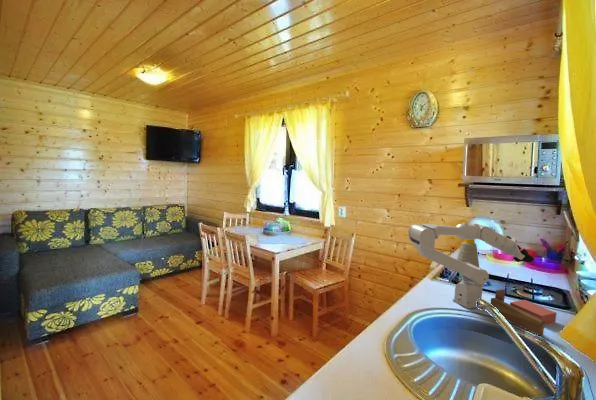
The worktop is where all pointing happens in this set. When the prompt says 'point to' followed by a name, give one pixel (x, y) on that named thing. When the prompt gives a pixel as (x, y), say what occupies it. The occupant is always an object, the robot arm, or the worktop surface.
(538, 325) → the shelf wall
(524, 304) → the reddish rectangular block
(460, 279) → the stick construction toy
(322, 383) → the worktop surface
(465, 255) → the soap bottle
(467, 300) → the robot arm
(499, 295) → the bookend
